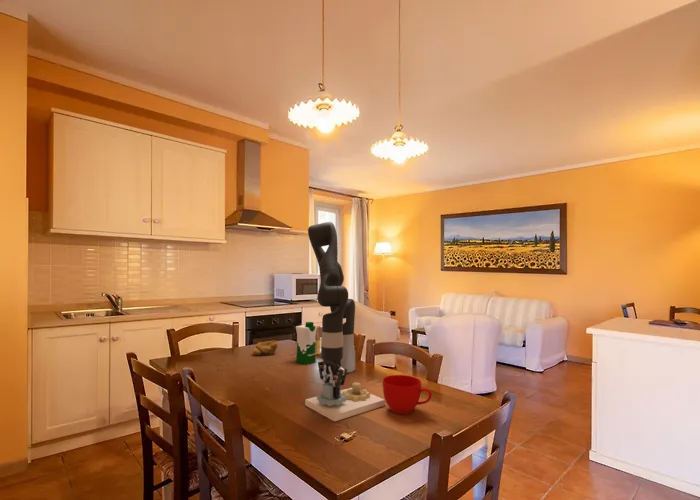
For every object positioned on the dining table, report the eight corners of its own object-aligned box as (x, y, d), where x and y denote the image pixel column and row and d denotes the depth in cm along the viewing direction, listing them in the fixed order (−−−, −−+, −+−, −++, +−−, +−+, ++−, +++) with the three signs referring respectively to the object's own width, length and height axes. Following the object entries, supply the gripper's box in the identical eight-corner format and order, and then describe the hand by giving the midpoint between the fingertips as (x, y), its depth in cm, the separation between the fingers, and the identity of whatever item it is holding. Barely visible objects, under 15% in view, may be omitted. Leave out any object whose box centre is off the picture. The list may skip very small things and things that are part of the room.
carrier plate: (353, 392, 144) (354, 374, 144) (384, 405, 130) (385, 385, 131) (305, 405, 130) (305, 385, 130) (334, 421, 117) (334, 399, 117)
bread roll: (255, 357, 195) (255, 342, 195) (250, 353, 204) (250, 339, 204) (278, 355, 202) (279, 340, 202) (272, 351, 210) (273, 337, 210)
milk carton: (306, 365, 181) (307, 324, 181) (292, 362, 186) (293, 322, 187) (318, 361, 188) (318, 322, 189) (304, 359, 193) (305, 320, 194)
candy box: (318, 352, 208) (318, 324, 209) (320, 354, 204) (320, 326, 205) (302, 353, 205) (303, 325, 206) (304, 355, 201) (304, 326, 202)
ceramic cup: (424, 424, 115) (424, 391, 116) (375, 412, 124) (375, 382, 125) (437, 411, 126) (438, 381, 127) (392, 400, 135) (392, 372, 136)
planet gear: (334, 393, 133) (334, 378, 134) (351, 401, 126) (352, 385, 126) (311, 399, 127) (311, 383, 127) (328, 408, 119) (328, 391, 120)
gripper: (354, 346, 124) (353, 399, 123) (328, 339, 135) (328, 387, 134) (336, 349, 119) (335, 404, 119) (311, 342, 130) (310, 392, 130)
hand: (331, 395), depth 127 cm, fingers closed on planet gear, 4 cm apart
